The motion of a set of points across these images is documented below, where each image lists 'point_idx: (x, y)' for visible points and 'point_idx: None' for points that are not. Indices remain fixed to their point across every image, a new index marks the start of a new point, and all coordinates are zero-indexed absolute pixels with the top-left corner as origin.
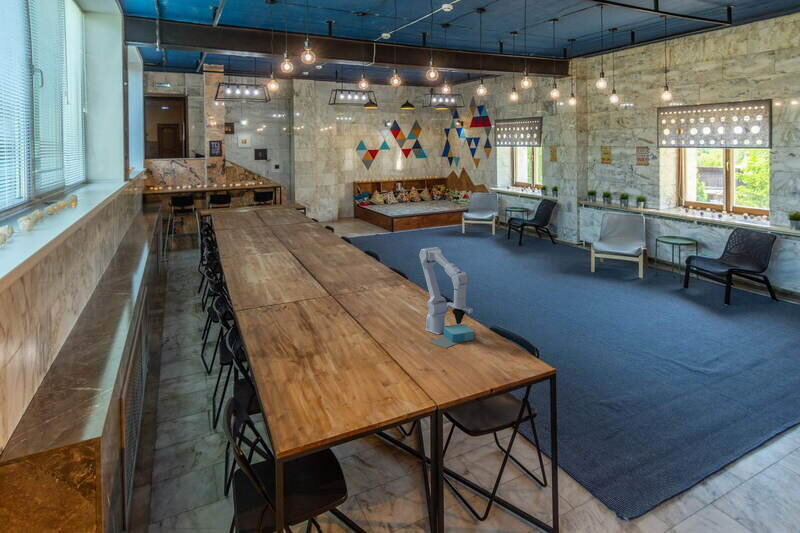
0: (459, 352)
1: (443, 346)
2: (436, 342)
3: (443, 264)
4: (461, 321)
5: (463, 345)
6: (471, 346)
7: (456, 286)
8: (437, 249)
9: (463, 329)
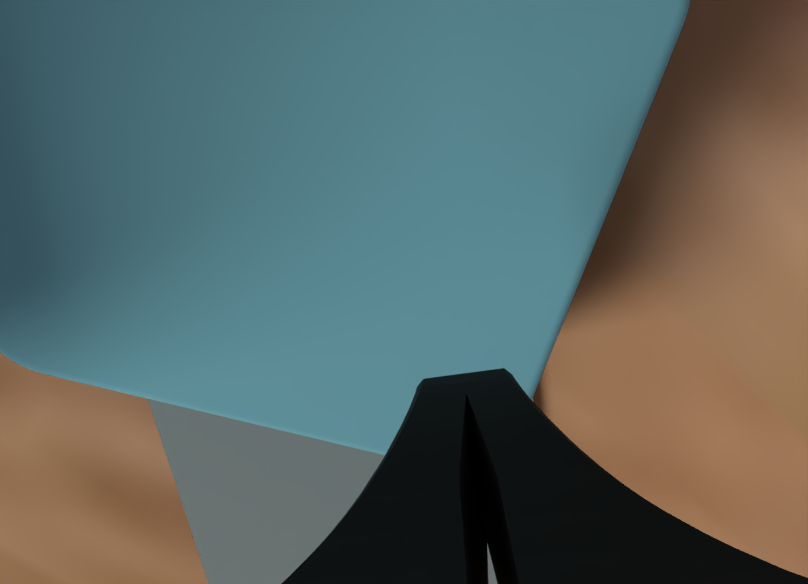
0: (789, 520)
1: (490, 573)
2: (305, 558)
3: None
4: (523, 392)
5: (655, 299)
6: (789, 218)
7: None
8: None
9: (413, 99)
